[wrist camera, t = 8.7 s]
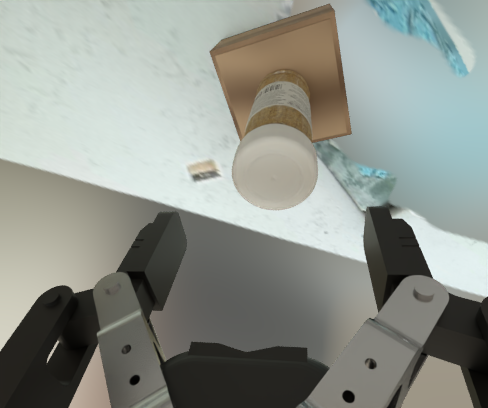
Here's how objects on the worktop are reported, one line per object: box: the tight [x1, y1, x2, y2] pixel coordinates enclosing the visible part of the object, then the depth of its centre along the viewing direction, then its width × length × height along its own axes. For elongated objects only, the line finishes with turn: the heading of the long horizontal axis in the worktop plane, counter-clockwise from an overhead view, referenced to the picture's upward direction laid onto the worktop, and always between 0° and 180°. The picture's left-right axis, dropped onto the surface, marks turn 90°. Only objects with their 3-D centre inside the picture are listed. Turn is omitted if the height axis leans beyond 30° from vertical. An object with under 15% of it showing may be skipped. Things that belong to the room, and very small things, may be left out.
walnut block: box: [210, 4, 352, 143], centre depth 30 cm, size 10×10×5 cm
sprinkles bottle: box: [232, 70, 318, 210], centre depth 22 cm, size 5×5×14 cm
